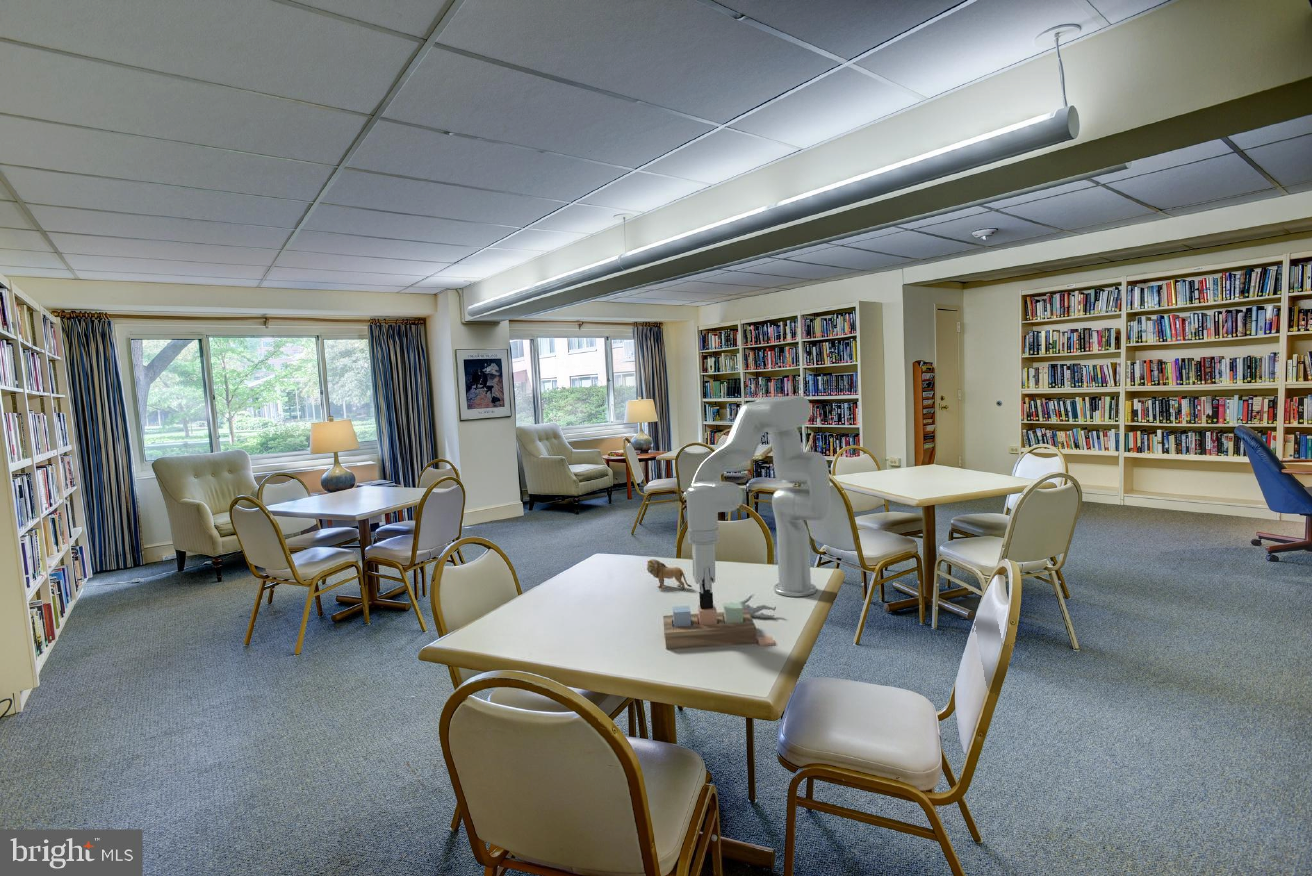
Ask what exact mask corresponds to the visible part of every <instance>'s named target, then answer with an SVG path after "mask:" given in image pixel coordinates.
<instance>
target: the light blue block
mask: <svg viewBox="0 0 1312 876" xmlns="http://www.w3.org/2000/svg"><path fill="white" fill-rule="evenodd" d="M691 614H692V612H691V609H690V605H681V606H672V615H673V624H674V627H681V626H691Z"/></svg>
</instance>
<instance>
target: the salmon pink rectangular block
mask: <svg viewBox="0 0 1312 876" xmlns="http://www.w3.org/2000/svg"><path fill="white" fill-rule="evenodd" d="M697 609H698V611H697V612H698V613H697V614H699V625H711V624H717V612H718V610H717V607H716V605H715V604H714V603H713V608H712V609H701V608H700V604H698V605H697Z"/></svg>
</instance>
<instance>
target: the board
mask: <svg viewBox="0 0 1312 876" xmlns="http://www.w3.org/2000/svg"><path fill="white" fill-rule="evenodd" d="M662 617H663V633H664V641H665V649H666V650H668V649H669V650H671V649H672V650H673V649H686V648H689V649H690V648H700V647H715V646H716V647H718V646H719V647H720V646H732V645H733V646H734V645H746V644H748V645H749V644H757V643H758V641H757V626H756V624H755V622H754V621H753V617H751V616H750V615H749V613H748V611H747V610H744V611H743V622H742V623H727V624H725V622H724V611H717V624H711V625H699V614H698V613H691V626H681V627H674V624H673V614H672V615H671V614H670V615H667V614H666V615H663V616H662Z"/></svg>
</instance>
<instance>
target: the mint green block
mask: <svg viewBox="0 0 1312 876" xmlns="http://www.w3.org/2000/svg"><path fill="white" fill-rule="evenodd" d="M723 612H724V622H725V624H727V623H742V622H743V608H742V606H741V604H740V603H739V602H728V603H723Z"/></svg>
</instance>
